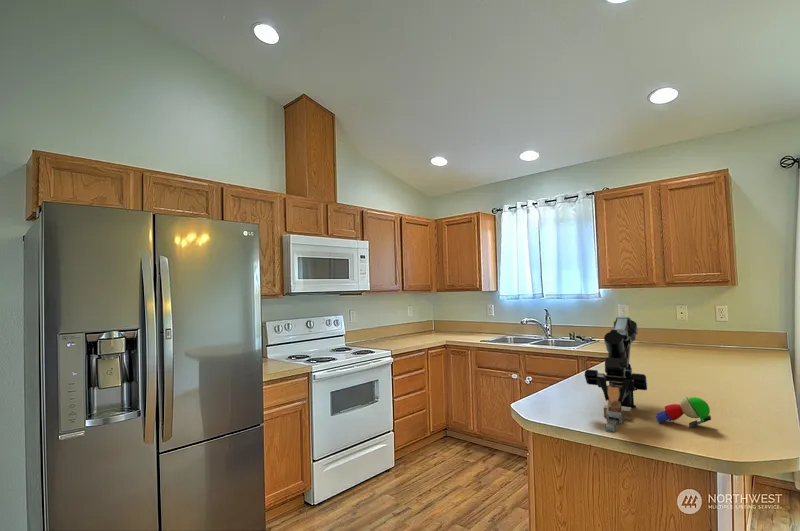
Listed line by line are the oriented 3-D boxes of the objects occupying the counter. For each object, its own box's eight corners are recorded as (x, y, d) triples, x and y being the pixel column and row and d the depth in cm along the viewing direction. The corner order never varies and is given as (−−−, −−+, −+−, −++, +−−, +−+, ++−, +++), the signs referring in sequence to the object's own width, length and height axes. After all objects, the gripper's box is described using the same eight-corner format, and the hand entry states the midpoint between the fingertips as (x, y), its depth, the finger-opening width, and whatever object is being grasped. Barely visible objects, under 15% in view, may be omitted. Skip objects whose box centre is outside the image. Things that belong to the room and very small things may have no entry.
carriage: (608, 417, 143) (607, 384, 143) (623, 419, 140) (621, 385, 141) (606, 421, 139) (605, 387, 139) (621, 423, 136) (619, 388, 137)
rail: (612, 418, 143) (612, 413, 143) (620, 419, 142) (620, 414, 142) (605, 430, 131) (605, 425, 131) (614, 432, 129) (614, 427, 129)
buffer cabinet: (606, 412, 149) (605, 403, 149) (631, 416, 145) (631, 406, 145) (603, 416, 145) (603, 406, 145) (630, 420, 141) (629, 409, 141)
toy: (667, 437, 134) (716, 419, 127) (652, 413, 136) (699, 394, 130) (668, 429, 141) (715, 412, 134) (653, 407, 143) (698, 389, 137)
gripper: (584, 346, 149) (579, 383, 139) (644, 349, 139) (643, 390, 129) (589, 365, 155) (584, 402, 146) (647, 369, 145) (646, 410, 135)
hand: (613, 401), depth 139 cm, fingers closed on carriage, 4 cm apart
